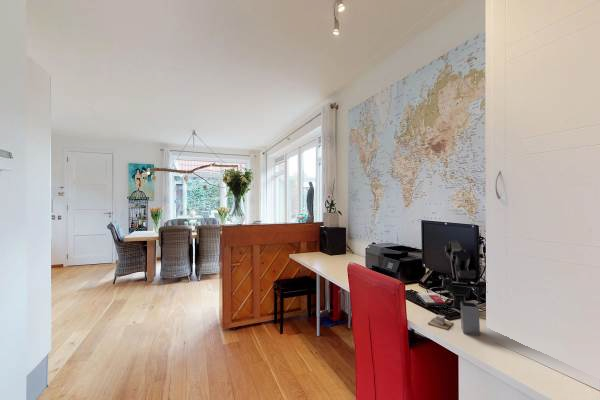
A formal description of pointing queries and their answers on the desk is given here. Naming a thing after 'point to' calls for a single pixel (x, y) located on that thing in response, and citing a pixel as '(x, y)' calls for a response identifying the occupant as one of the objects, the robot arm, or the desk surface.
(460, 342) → the desk surface
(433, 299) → the calculator
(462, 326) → the socket sleeve
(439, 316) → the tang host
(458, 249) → the robot arm
